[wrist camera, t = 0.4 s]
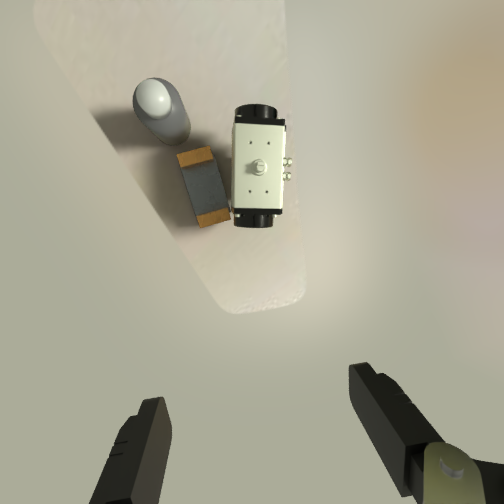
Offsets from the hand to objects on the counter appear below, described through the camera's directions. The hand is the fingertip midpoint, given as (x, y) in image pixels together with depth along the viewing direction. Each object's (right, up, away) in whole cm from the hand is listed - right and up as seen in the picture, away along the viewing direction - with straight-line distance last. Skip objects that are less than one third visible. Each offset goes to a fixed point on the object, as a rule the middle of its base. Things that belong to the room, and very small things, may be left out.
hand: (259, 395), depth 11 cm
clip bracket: (-7, +15, +24) cm, 29 cm away
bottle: (-10, +22, +22) cm, 33 cm away
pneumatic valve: (-1, +16, +25) cm, 30 cm away
